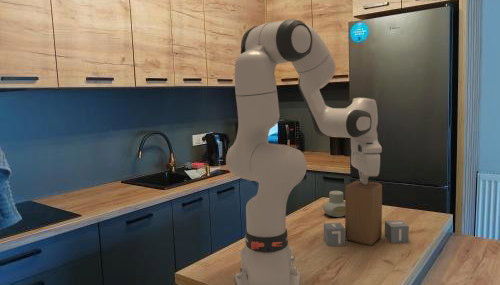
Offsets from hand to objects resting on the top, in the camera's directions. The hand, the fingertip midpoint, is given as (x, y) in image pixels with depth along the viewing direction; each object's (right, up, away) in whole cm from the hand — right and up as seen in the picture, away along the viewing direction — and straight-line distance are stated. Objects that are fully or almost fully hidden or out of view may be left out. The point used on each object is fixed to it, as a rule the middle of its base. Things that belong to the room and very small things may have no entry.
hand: (363, 183), depth 134 cm
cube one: (+12, -20, +1) cm, 23 cm away
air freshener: (-3, -17, +29) cm, 34 cm away
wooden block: (+1, -20, +3) cm, 20 cm away
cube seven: (-10, -21, 0) cm, 23 cm away
